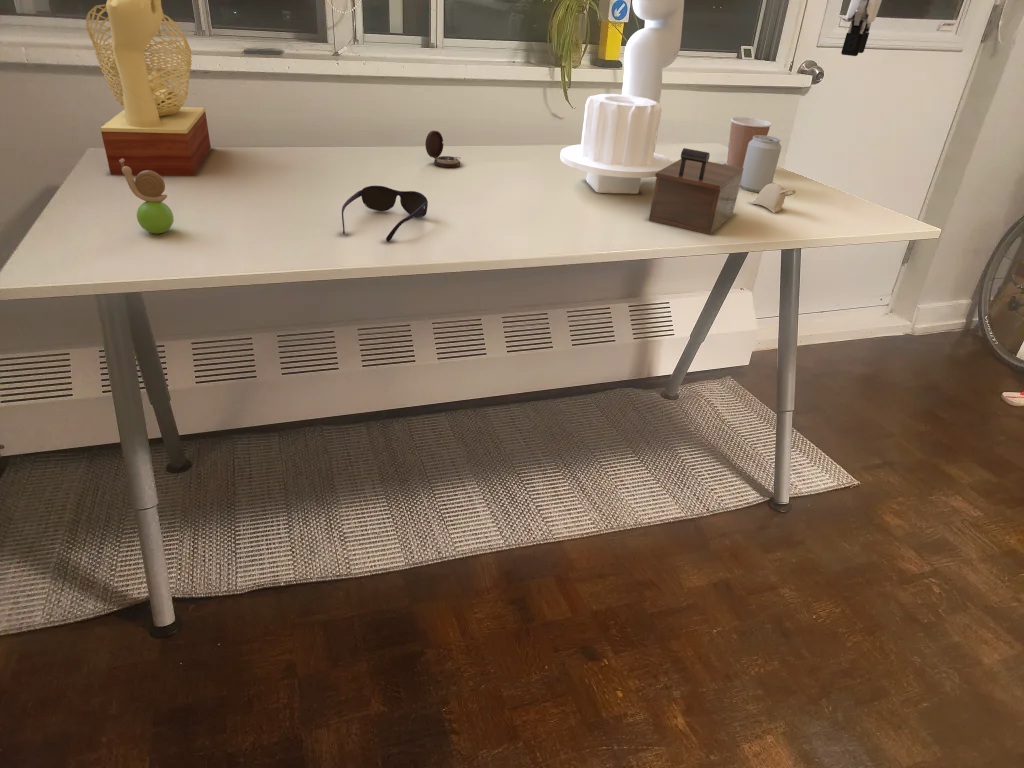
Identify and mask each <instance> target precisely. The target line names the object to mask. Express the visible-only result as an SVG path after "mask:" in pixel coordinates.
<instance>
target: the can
mask: <svg viewBox="0 0 1024 768" xmlns="http://www.w3.org/2000/svg"><path fill="white" fill-rule="evenodd" d="M780 142H781V139H780V138H778V137H774V136H770V135H767V136H764V135H755V136H753V139H752V140H751V141H750V142H749V143H748V148H747V152H746V156H745V160H744V165H743V168H744V170H743V174H742V178H741V182H740V187H741V188H742V189H743V190H744V191H747V192H751V193H760V191H761V190H762V189H763V188H764V187H765V186H766V185H768V184H770V183H774V178H775V175H776V171H777V166H778V162H779V159H780V154H781V151H782V145H781V143H780Z"/></svg>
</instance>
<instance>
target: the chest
mask: <svg viewBox="0 0 1024 768" xmlns="http://www.w3.org/2000/svg"><path fill="white" fill-rule="evenodd" d="M742 174H743V172H742V173H741V174H740V175H738V176H737V177H736V178H734V179H733V180H732V181H730V182H729V183H728V184H726V185H725V186H724V187H723V188H721V189H720V190H717V189H712V188H707V187H702V186H697V185H693V184H688V183H683V182H678V181H673V180H668V179H663V178H659V177H655V181H654V182H655V184H654V189H653V195H652V200H651V206H650V211H649V217H648V221H650V222H654V223H659V224H663V225H667V226H671V227H674V228H675V227H676V228H679V229H680V228H681V229H685V230H689V231H693V232H697V233H701V234H706V235H712V234H713V233H714V232H715V231H717V229H718V228H720V227H721V226H722V225H723V224H724V223H725V222H726V221H727V220H728V219H729V218H731V217H732V216H733V215H734V211H735V207H736V203H737V199H738V195H739V190H740V187H741V185H740V182H741V178H742Z"/></svg>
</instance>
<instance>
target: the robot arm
mask: <svg viewBox="0 0 1024 768" xmlns="http://www.w3.org/2000/svg"><path fill="white" fill-rule="evenodd" d="M631 1H632V9H633V12H634V14H635V16H637V18H638V19H641V20H643V21H644V27H643V28H640V29H638V30H636V31H635V32H634V33H633V34H632V35H631V36H630V37H629V39H628V41H627V42H626V44H625V48H624V53H623V80H622V88H621V95H629V96H631V95H632V96H637V97H642V98H648V99H650V100H653V101H657V102H658V103H659V104H660V102H661V97H662V89H663V69H665V68H667V67H669V66H670V65H672V64H673V63H674V62H675V60H677V58H678V56H679V52H680V50H681V44H682V32H683V21H684V10H685V0H631ZM882 1H883V0H850V2H849V5H848V8H847V12H846V15H845V19H844V20H845V21H846V22H847V23H848V22H849V23H850V24H849V27H848V30H847V32H846V34H845V38H844V41H843V45H842V48H841V52H840V54H841V56H842V55H843V56H851V57H857V56H858V55H859V54H863V53H864V52H865V49H866V46H867V43H868V39H869V35H870V30H871V25H872V23H873V22H875V20H876V18H877V16H878V12H879V10H880V8H881V7H880V6H881V3H882Z"/></svg>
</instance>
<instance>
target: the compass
mask: <svg viewBox="0 0 1024 768" xmlns="http://www.w3.org/2000/svg"><path fill="white" fill-rule="evenodd" d="M443 142H444V138H443V135H442V133H441V132H440V131H438V130H434V129H433V130H430V131H429V132H428V133H427V136H426V137H425V143H424V144H425V151H426V153H427V155H428V156H429V157H430V158H432V159H434V165H436V166H438V167H441V168H456V167H459V166H460V165H461V159H462V157H460V156H449V155H442V153H443V149H444V143H443Z"/></svg>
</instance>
